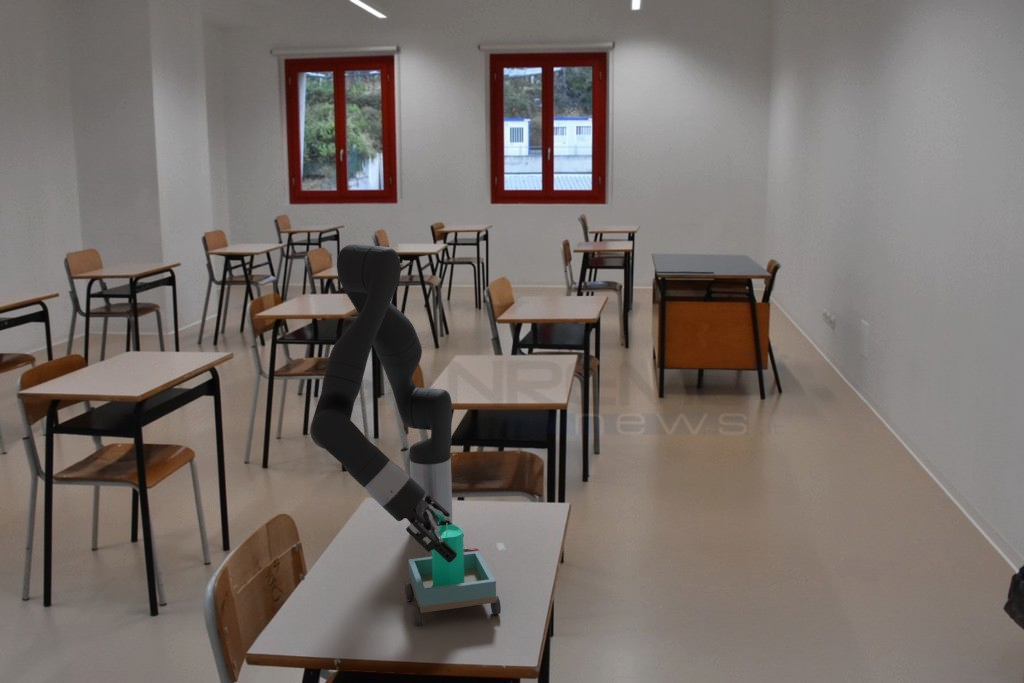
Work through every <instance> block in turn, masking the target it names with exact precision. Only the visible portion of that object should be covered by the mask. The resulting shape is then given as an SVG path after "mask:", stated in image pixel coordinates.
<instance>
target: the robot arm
mask: <svg viewBox="0 0 1024 683" xmlns="http://www.w3.org/2000/svg"><path fill="white" fill-rule="evenodd" d="M400 259H401V258H400V256H399V254H398V252H397V251H396V250H395V249H394V248H392V247H389V246H388V247H387V246H379V245H371V244H360V243H359V244H357V243H356V244H348V245H345V246H344V247H343V248H341V250H340V251H339V253H338V255H337V259H336V272H337V276H338V280H339V282H340V284H341V287H342V288H343V290H344V293H345V294H346V295H347V297H348V299H349V301H350V302H351V304H352V306H353V307H354V308H355V311H356V312H357V314H358V315H357V317H356V318H355V320H354V321H353V322H352V323H351V324H350V325H349V327H348V328H347V329H346V330H345V331H344V333H342V335H341V336H340V337H339V338H338V339H337V340H336V341H335V343H334V344H333V347H332V349H331V351H330V353H329V354H330V355H329V356H328V360H327V364H326V367H325V372H324V375H323V376H324V377H323V379H322V385H321V386H322V387H321V393H320V396H319V399H318V402H317V404H316V408H315V410H314V414H313V418H312V420H311V424H310V430H309V433H310V437H311V439H312V441H313V443H315V445H316V446H317V447H319V448H321V449H324V450H325V451H327V453H329V454H330V455H331V456H332V457H334V458H335V459H336V460H337V462H339V463H341V464H342V466H343V467H344V469H345V471H347V473H348V474H349V475H350V477H352V478H353V479H354V480H355V481H356V482H357V483H358V484H360V485H361V487H363V488H364V489H365V491H366V492H367V493H368V495H370V497H371V498H372V499H373V500H374V501H376V502H377V504H379V505H380V506H381V507H382V508H383V509H384V510H385V511H386V512H387V513H388V514H389V515H390V516H391V517H393V518H394V519H395V520H396V521H398V522H401V521H403V520H404V519H406V520H407V521H408V522H409V523H410V524H409V525H408V526H407V527H406V528H405V530H406V532H407V533H408V534H409V535H410V536H411V537H412V538H413V539H414V540H415V541H416V542H417V543H418V544H419V545H420V546H421V547H422V548H423V549H424V550H425V551H426V552H428V553H430V552H432V550H434V549H435V550H436V551H437V552H438V553H439V554H440V555H441V556H442V557H443V558H444V559H445V560H446V561H447V562H451V561H453V560H454V559H455V558H456V556H457V553H456V552H455V551H454V550H453V549H452V548H451V547H450V546H449V545H448V544H447V543H446V542H445V541H444V540H442V538H441V536H440V535H439V533H438V531H439V528H438V526H443V525H446V523H447V525H454V524H453V496H452V492H453V490H452V487H453V485H452V463H451V461H452V457H451V455H452V454H451V448H452V439H453V438H452V424H453V421H452V420H453V418H452V417H453V404H452V403H453V401H452V397H451V394H450V393H449V392H448V390H446V389H442V388H428V387H419V386H417V385H416V384H415V382H414V379H413V377H414V376H413V375H415V374H414V373H415V372H416V370H417V368H418V366H419V364H420V362H421V359H422V355H423V354H422V353H423V350H422V349H423V348H422V344H421V342H420V339H419V336H418V334H417V332H416V329H415V326H414V325H413V323H412V322H411V320H410V319H409V318H408V317H407V316H406V315H405V314H404V313H403V312H402V311H400V310H399V309H398V307H396V306H395V305H394V304H393V303H391V302H392V300H393V297H394V295H395V292H396V289H397V287H398V283H399V279H400V276H401V260H400ZM372 347H373V349H374V350H375V353H376V355H377V358H378V360H379V362H380V364H381V365H382V368H383V370H384V372H385V374H386V377H387V380H388V382H389V385H390V387H391V391H392V394H393V396H394V401H395V404H396V406H397V411H398V414H399V416H400V419H401V421H402V423H403V424H404V425H405V426H406V427H408V428H410V429H414V430H415V429H416V430H425V431H429V430H430V438H428V439H424V440H423V439H422V440H419V441H417V442H415V443H413V444H411V446H410V447H409V452H408V453H409V456H408V457H409V472H410V475H409V474H408V473H407V472H406V471H405V470H404V469H403V468H402V467H401V466H400V465H398V464H396V463H395V462H394V461H392V459H390V458H389V457H388V456H387V455H386V454H385V453H384V452H383V451H382V450H380V449H379V448H378V447H377V446H376V445H375V444H373V443H372V442H371V441H370V440H369V439H368V438H367V437H366V435H365V434H364V433H363V432H362V431H361V430H360V428H359V427H357V425H356V424H355V423H354V422H353V421H352V420H351V419H352V414H353V411H354V406H355V405H354V404H355V402H356V400H357V398H358V395H359V394H360V393H359V392H360V390H361V387H362V386H361V385H362V383H363V379H364V375H365V371H366V367H367V363H368V359H369V355H370V352H371V351H372ZM434 536H435V537H434ZM463 538H464V534H463Z"/></svg>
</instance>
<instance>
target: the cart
mask: <svg viewBox="0 0 1024 683" xmlns="http://www.w3.org/2000/svg"><path fill="white" fill-rule="evenodd" d="M479 551H480V550H479ZM479 551H473V552H465V553H464V583H460V584H452V585H444V586H437V587H435V586H434V585H433V574H432V556H425V557H418V558H417V557H416V558H411V559H410V558H409V559H407V560H408V580H409V583H405V584H404V585H405V586H404V588H405V589H404V590H405V599H406V601H407V602H410V601H414V599H415V600H416V602H417V605H418V606H415V607H413V608H412V610H413V611H412V615H413V622H414V626H421V625H423V622H424V621H423V620H424V619H423V613H431V612H436V611H443V610H444V611H445V610H452V609H460V608H466V607H473V606H474V607H475V606H479V605H480V606H481V605H488V604H490V609H491V613H492V615H500V614H501V601H500V597H499V595H497V580H496V578H495V577H494V576H493V573H492V571H491V570H490V568H489V566H488V564H487V563H486V561H485V559H484V558H483V555H482V553H481V552H479Z"/></svg>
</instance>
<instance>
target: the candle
mask: <svg viewBox="0 0 1024 683" xmlns="http://www.w3.org/2000/svg"><path fill="white" fill-rule="evenodd" d="M438 528H439V531H438V533H439V535H440V536H441V538H442V540H444V541H445V542H446V543H447V544H448V545H449V546H450V547H451V548H452V549H453V550H454V551H455V552H456V553H457V556H456V558H455V559H454V560H453V561H451V562H447V561H446V560H445V559H444V558H443V557H442V556H441V555H440V554H439V553H438V552H437V551H436V550H435V549H434V550H431V557H432V574H433V585H434V586H435V587H437V586H444V585H452V584H460V583H464V537H463V535H464V531H463V529H462V528H461V527H460V526H458V525H456V524H453V525H447V523H446V525H443V526H438ZM434 537H435V536H434Z"/></svg>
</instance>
